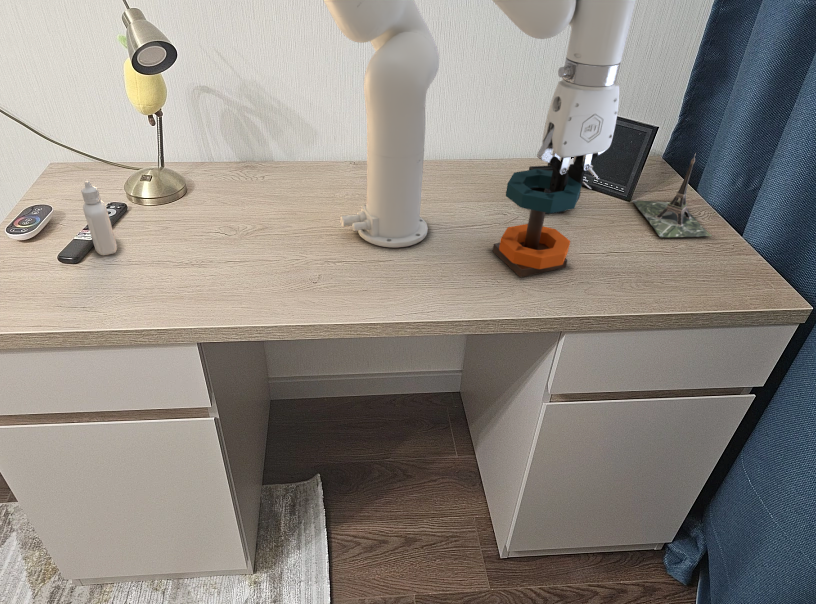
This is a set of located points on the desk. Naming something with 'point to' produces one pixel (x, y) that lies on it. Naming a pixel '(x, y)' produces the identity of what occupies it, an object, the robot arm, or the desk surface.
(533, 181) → the teal ring
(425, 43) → the robot arm
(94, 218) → the eye dropper bottle
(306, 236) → the desk surface
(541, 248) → the peg stand
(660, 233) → the eiffel tower figurine
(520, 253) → the orange ring
